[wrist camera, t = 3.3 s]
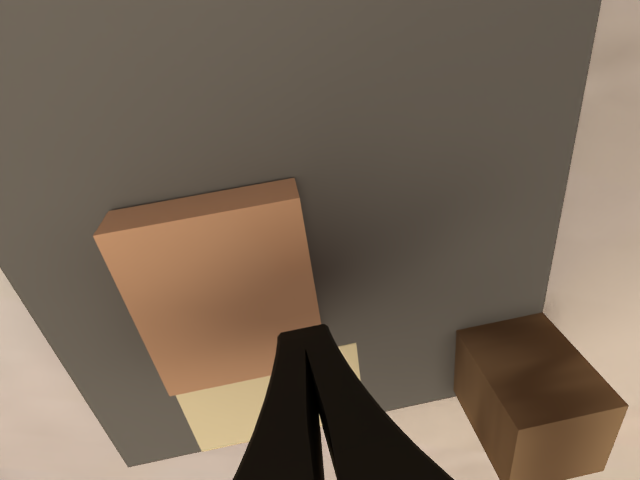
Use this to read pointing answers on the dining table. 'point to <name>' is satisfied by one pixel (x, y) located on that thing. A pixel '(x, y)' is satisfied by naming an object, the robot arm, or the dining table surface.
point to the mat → (290, 175)
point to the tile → (213, 280)
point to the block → (535, 400)
